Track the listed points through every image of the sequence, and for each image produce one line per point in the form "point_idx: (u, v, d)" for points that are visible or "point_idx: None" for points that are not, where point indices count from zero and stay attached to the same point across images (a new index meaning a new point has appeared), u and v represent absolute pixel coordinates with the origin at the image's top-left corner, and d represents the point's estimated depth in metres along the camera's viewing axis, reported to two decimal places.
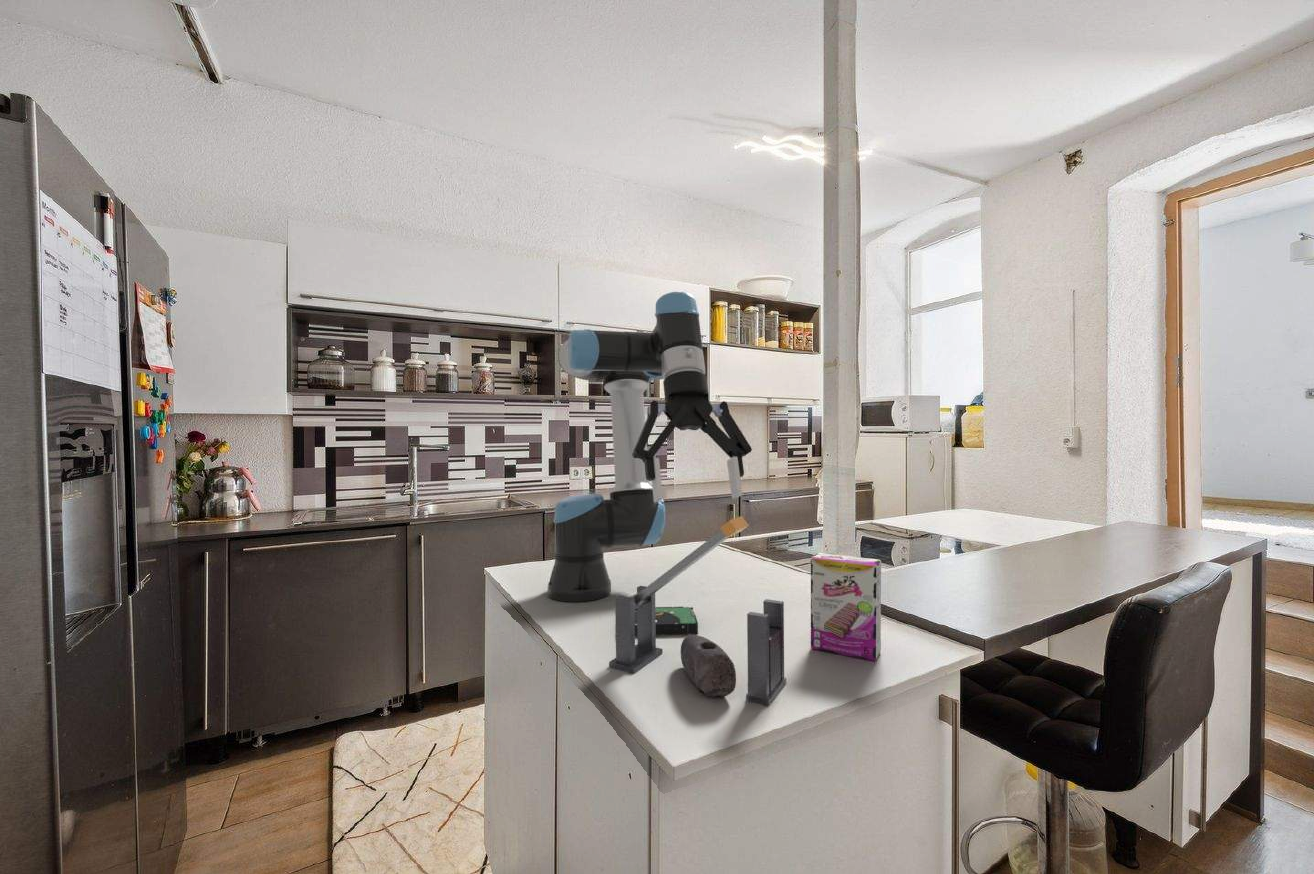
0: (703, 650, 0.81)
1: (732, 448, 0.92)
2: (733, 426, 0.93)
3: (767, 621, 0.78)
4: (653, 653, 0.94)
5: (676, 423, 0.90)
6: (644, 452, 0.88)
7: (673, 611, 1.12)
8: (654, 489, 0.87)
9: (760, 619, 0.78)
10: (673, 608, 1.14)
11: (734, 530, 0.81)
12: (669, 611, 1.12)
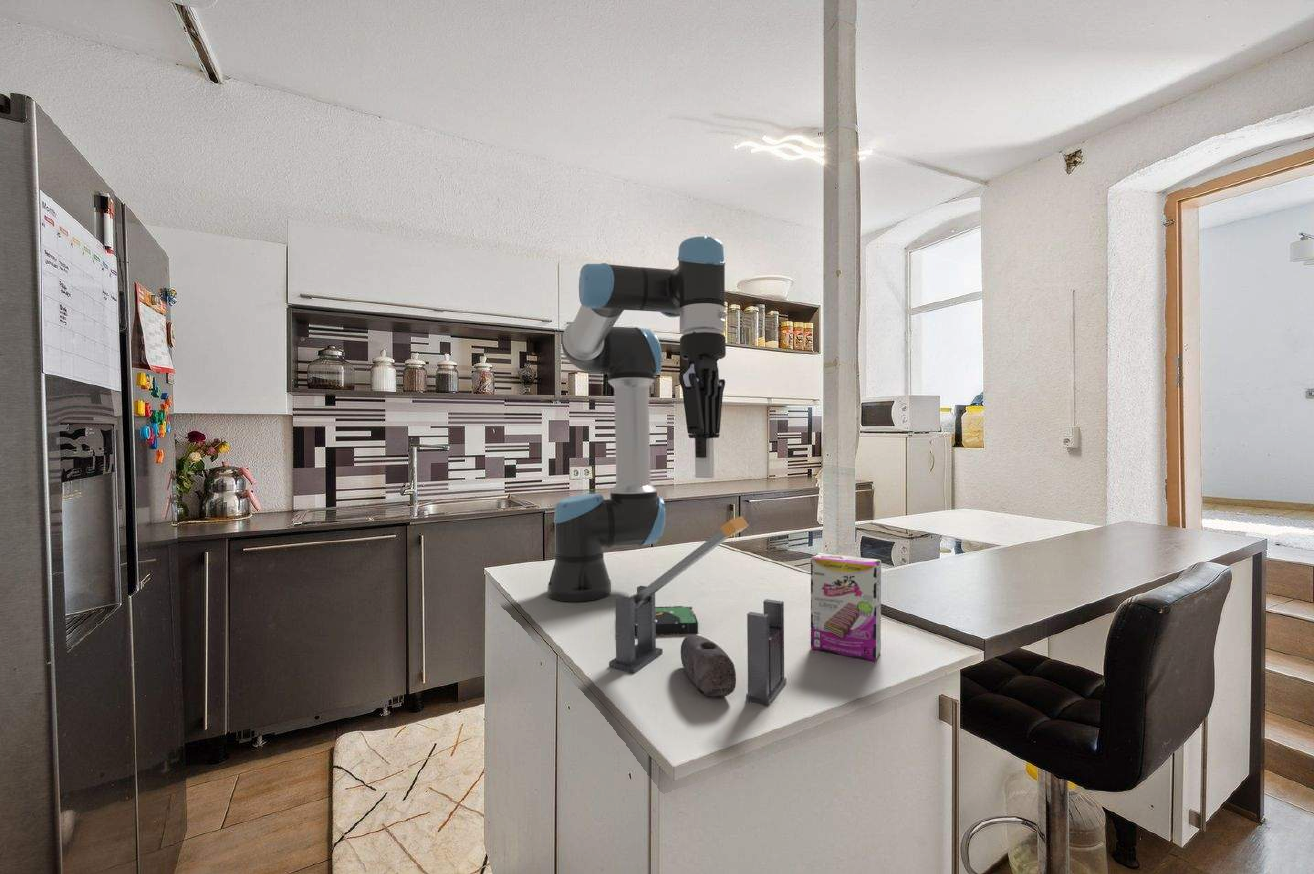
0: (703, 650, 0.81)
1: (712, 426, 0.91)
2: (720, 403, 0.93)
3: (767, 621, 0.78)
4: (653, 653, 0.94)
5: (710, 391, 0.89)
6: None
7: (672, 611, 1.12)
8: (701, 467, 0.90)
9: (760, 619, 0.78)
10: (672, 608, 1.14)
11: (734, 530, 0.81)
12: (668, 610, 1.12)
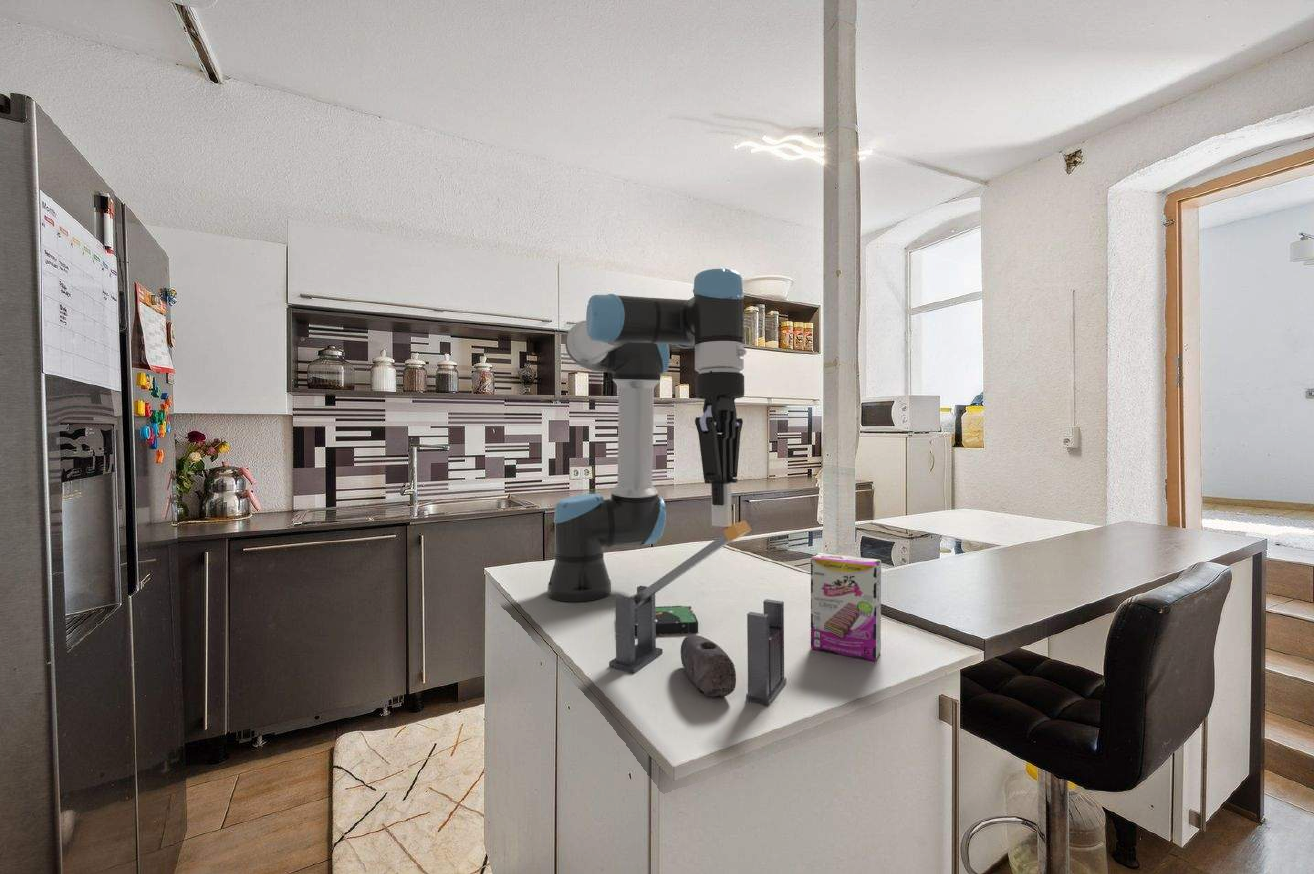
0: (703, 650, 0.81)
1: (730, 470, 0.85)
2: (737, 445, 0.88)
3: (767, 621, 0.78)
4: (653, 653, 0.94)
5: (728, 434, 0.83)
6: None
7: (672, 610, 1.12)
8: (717, 514, 0.84)
9: (760, 619, 0.78)
10: (671, 607, 1.14)
11: (737, 534, 0.81)
12: (668, 610, 1.12)
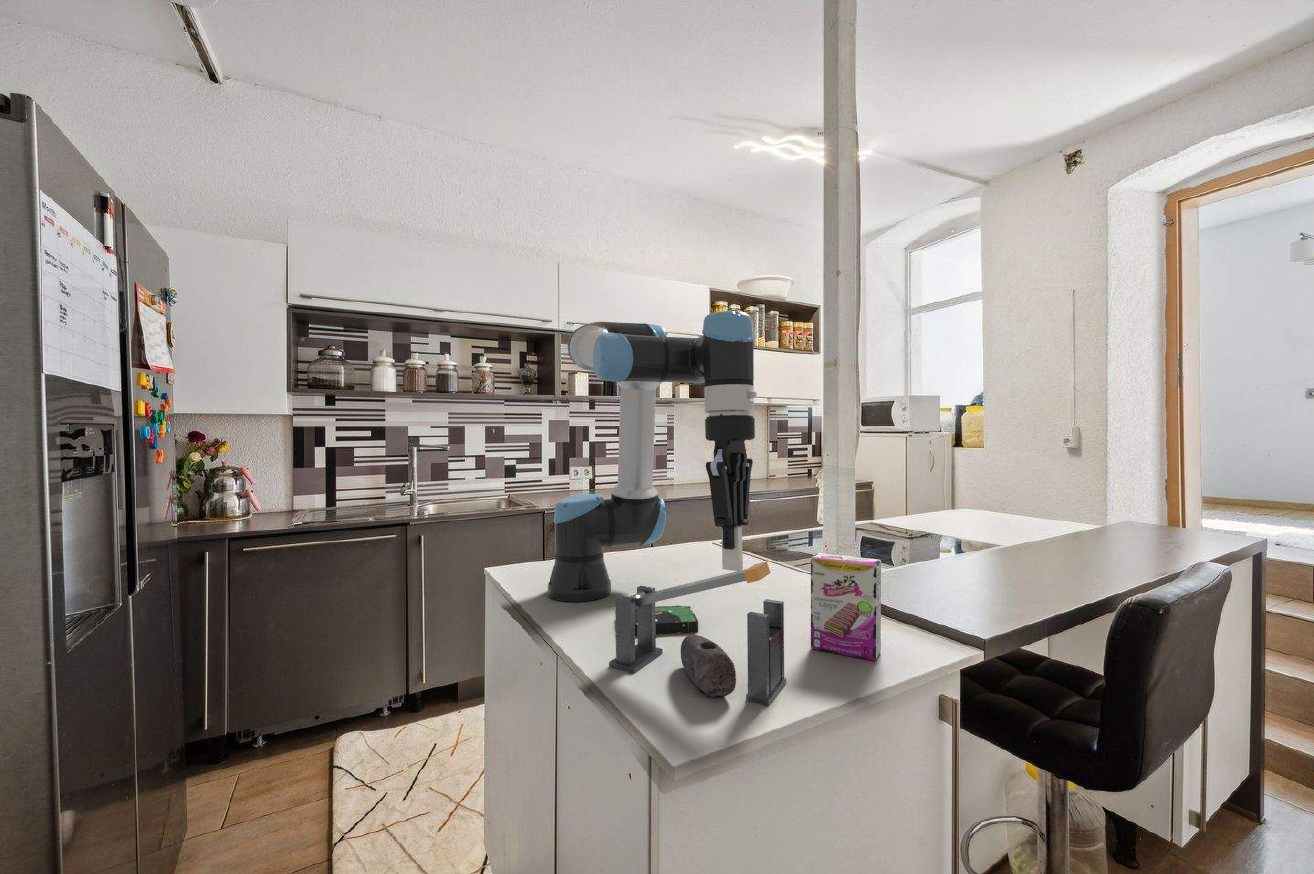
0: (703, 650, 0.81)
1: (741, 513, 0.84)
2: (747, 486, 0.87)
3: (767, 621, 0.78)
4: (653, 653, 0.94)
5: (738, 477, 0.82)
6: None
7: (671, 610, 1.12)
8: (728, 558, 0.83)
9: (760, 619, 0.78)
10: (671, 607, 1.14)
11: (757, 579, 0.80)
12: (667, 610, 1.13)
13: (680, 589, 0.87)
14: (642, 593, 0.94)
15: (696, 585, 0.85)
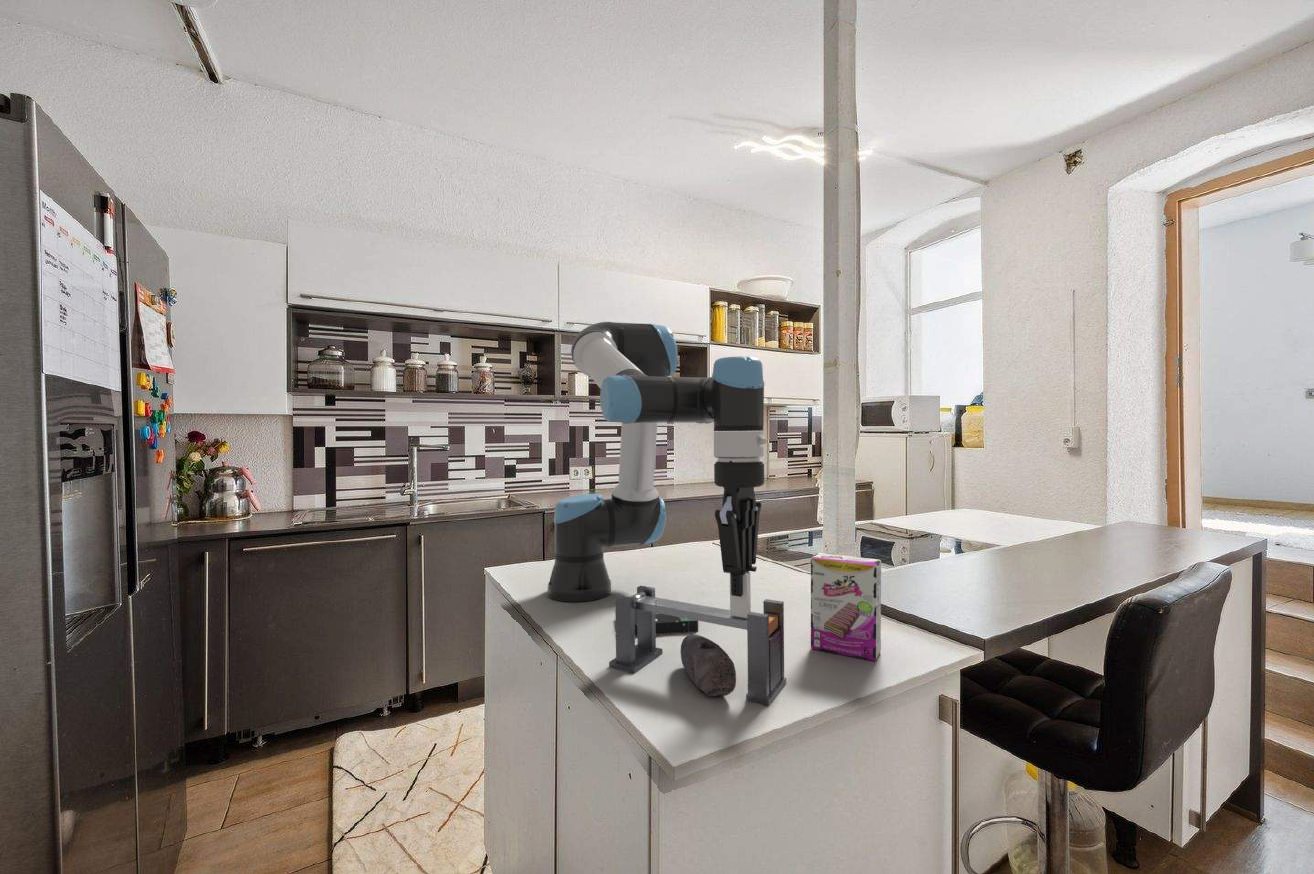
0: (703, 650, 0.81)
1: (749, 558, 0.83)
2: (756, 530, 0.86)
3: (767, 621, 0.78)
4: (653, 653, 0.94)
5: (747, 524, 0.82)
6: None
7: None
8: (736, 604, 0.83)
9: (760, 619, 0.78)
10: None
11: None
12: None
13: (684, 611, 0.86)
14: (644, 594, 0.94)
15: (701, 614, 0.85)
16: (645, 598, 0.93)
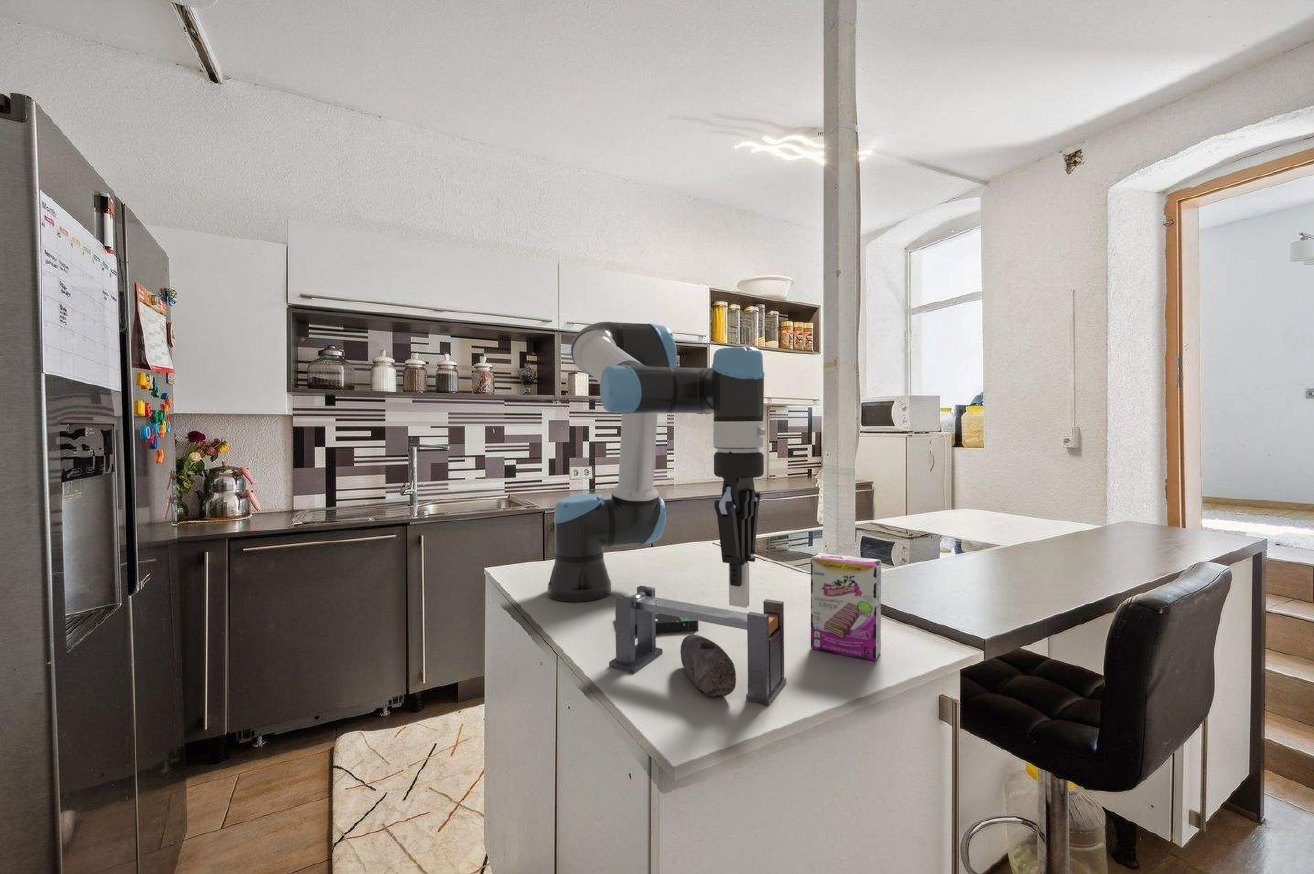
0: (703, 650, 0.81)
1: (748, 549, 0.84)
2: (755, 521, 0.86)
3: (767, 621, 0.78)
4: (653, 653, 0.94)
5: (747, 514, 0.82)
6: None
7: None
8: (735, 594, 0.83)
9: (760, 619, 0.78)
10: None
11: None
12: None
13: (684, 611, 0.86)
14: (644, 594, 0.94)
15: (701, 614, 0.85)
16: (645, 598, 0.93)
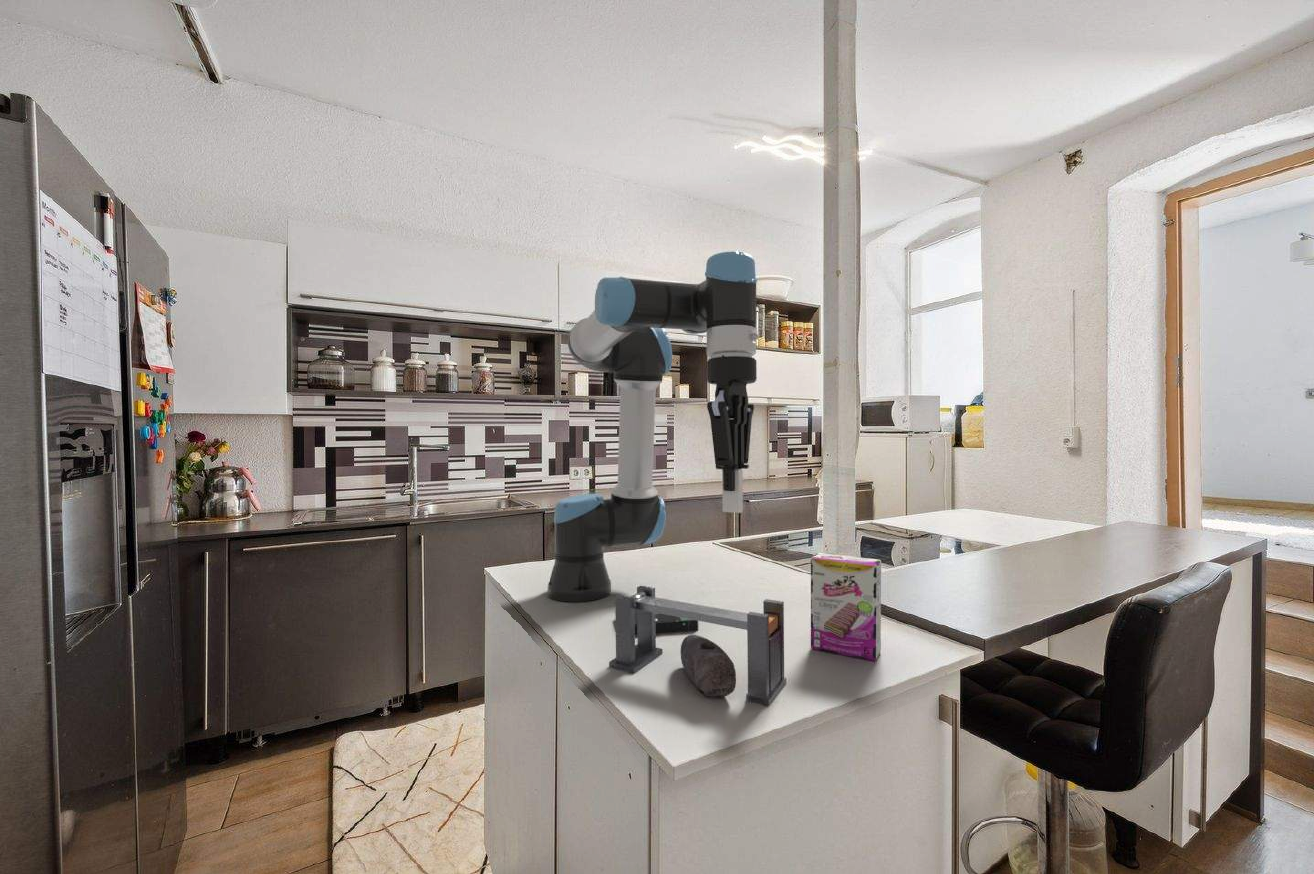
0: (703, 650, 0.81)
1: (741, 456, 0.84)
2: (748, 431, 0.87)
3: (767, 621, 0.78)
4: (653, 653, 0.94)
5: (740, 419, 0.82)
6: None
7: None
8: (728, 500, 0.84)
9: (760, 619, 0.78)
10: None
11: None
12: None
13: (684, 611, 0.86)
14: (644, 594, 0.94)
15: (701, 614, 0.85)
16: (645, 598, 0.93)
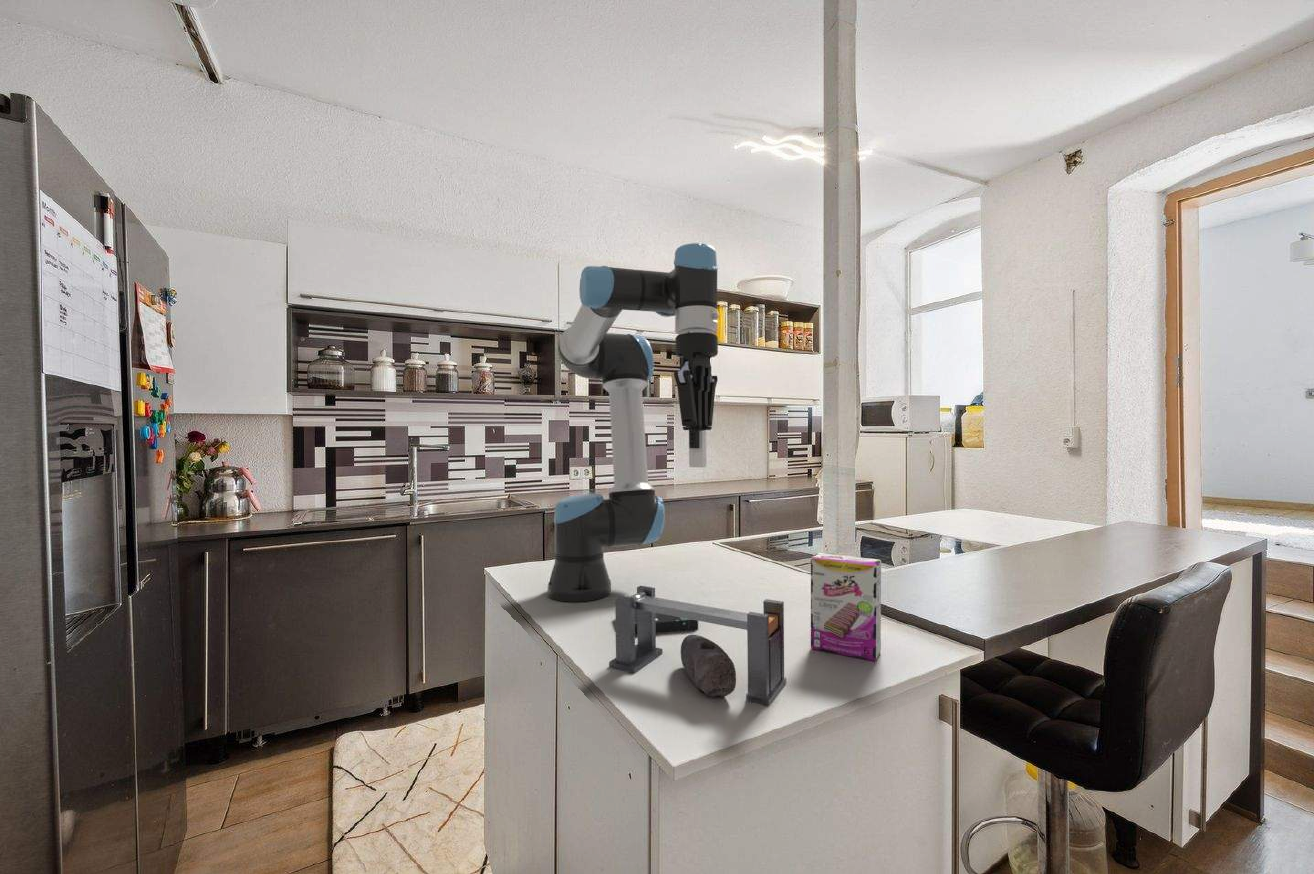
0: (703, 650, 0.81)
1: (705, 419, 0.98)
2: (712, 398, 1.01)
3: (767, 621, 0.78)
4: (653, 653, 0.94)
5: (703, 387, 0.96)
6: None
7: None
8: (694, 457, 0.97)
9: (760, 619, 0.78)
10: None
11: None
12: None
13: (684, 611, 0.86)
14: (644, 594, 0.94)
15: (701, 614, 0.85)
16: (645, 598, 0.93)
